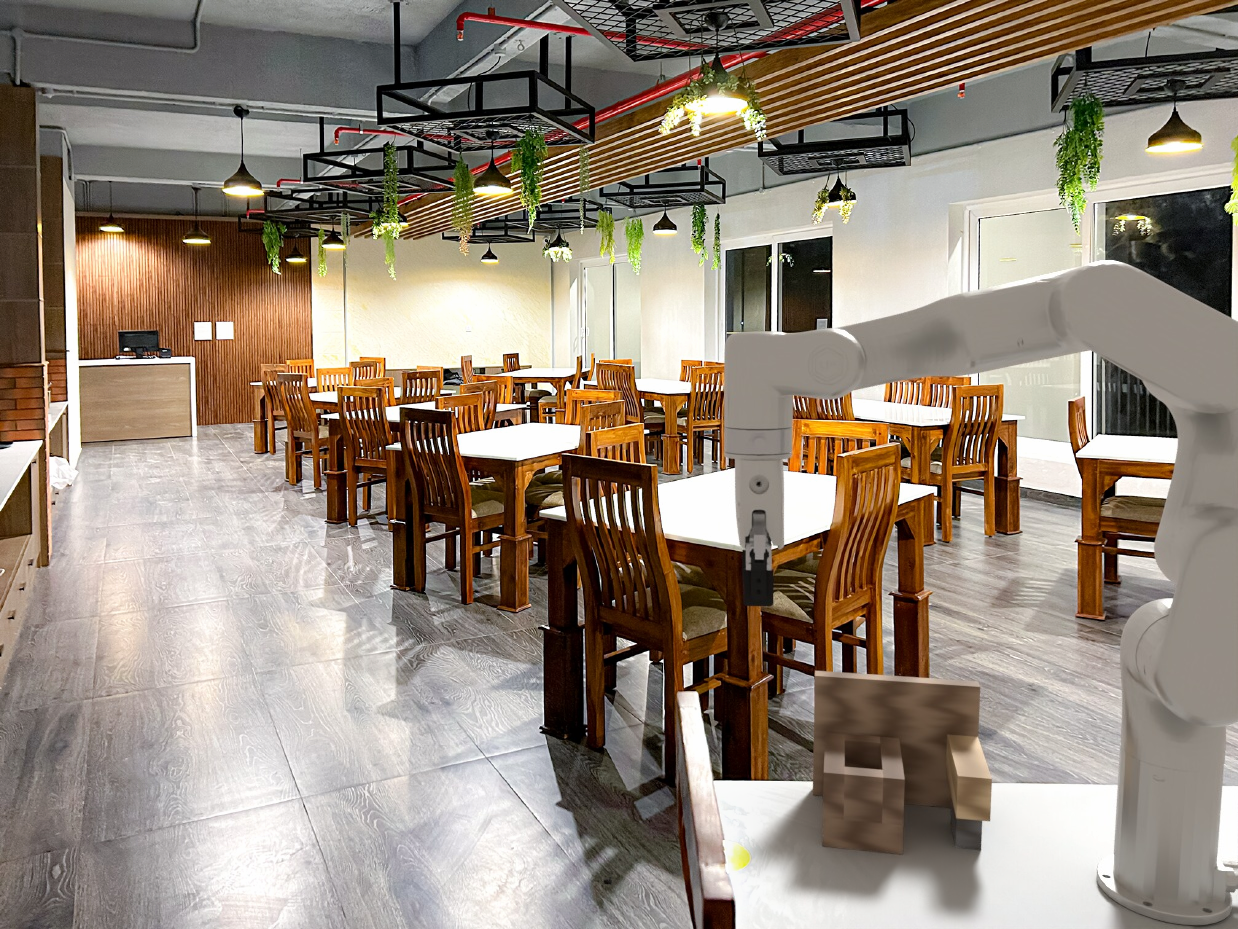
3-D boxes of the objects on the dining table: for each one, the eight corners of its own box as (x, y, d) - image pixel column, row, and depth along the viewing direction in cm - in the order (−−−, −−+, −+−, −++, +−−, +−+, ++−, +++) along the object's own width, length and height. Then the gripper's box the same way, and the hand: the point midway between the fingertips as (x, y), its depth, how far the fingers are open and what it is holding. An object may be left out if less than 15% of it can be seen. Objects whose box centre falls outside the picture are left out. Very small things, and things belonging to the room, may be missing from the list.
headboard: (973, 803, 125) (978, 681, 123) (990, 863, 110) (996, 727, 108) (813, 788, 129) (815, 670, 127) (809, 844, 115) (811, 713, 113)
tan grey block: (974, 814, 122) (977, 736, 121) (988, 863, 110) (991, 779, 109) (944, 811, 123) (947, 734, 121) (954, 860, 111) (957, 776, 110)
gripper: (797, 452, 100) (795, 615, 102) (787, 436, 117) (786, 576, 119) (723, 452, 101) (723, 614, 103) (724, 436, 118) (724, 575, 120)
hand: (757, 594), depth 111 cm, fingers open, 9 cm apart
